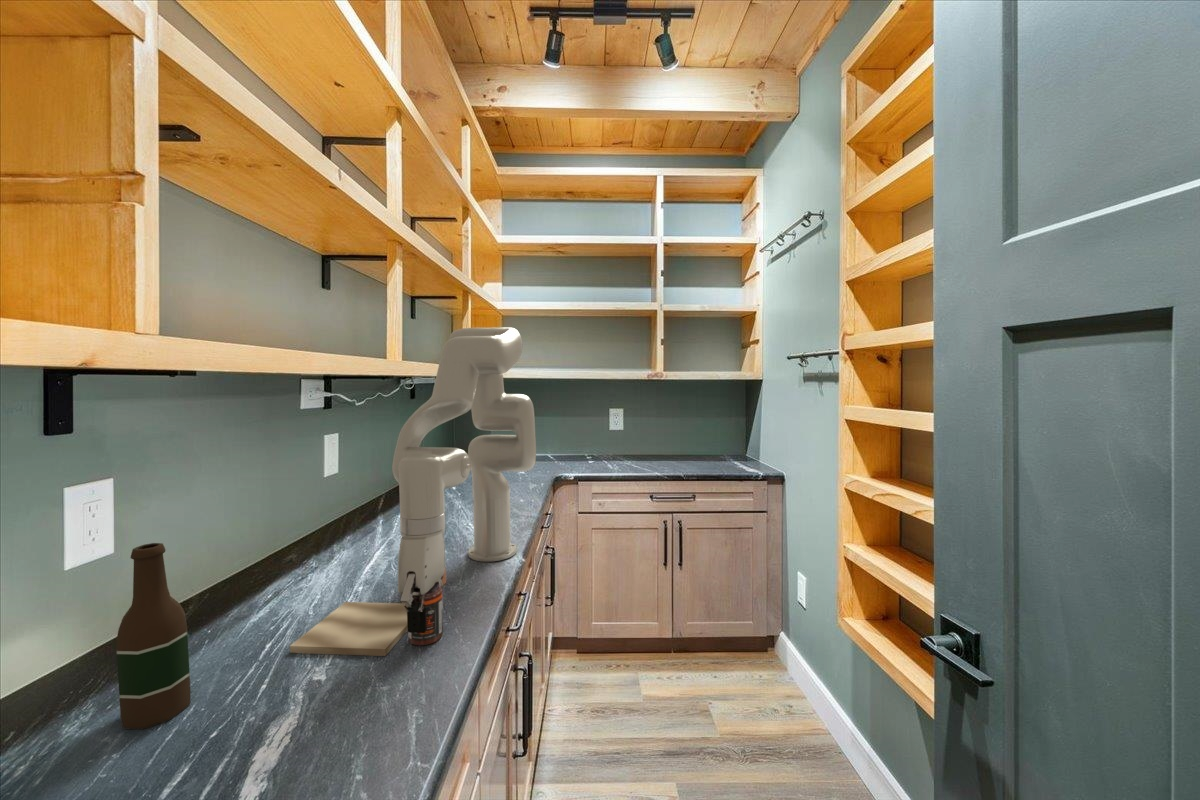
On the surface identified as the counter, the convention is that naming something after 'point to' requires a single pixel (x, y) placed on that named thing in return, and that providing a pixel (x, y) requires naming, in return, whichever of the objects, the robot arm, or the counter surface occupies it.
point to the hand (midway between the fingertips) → (425, 620)
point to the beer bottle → (152, 647)
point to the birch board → (356, 630)
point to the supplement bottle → (430, 617)
